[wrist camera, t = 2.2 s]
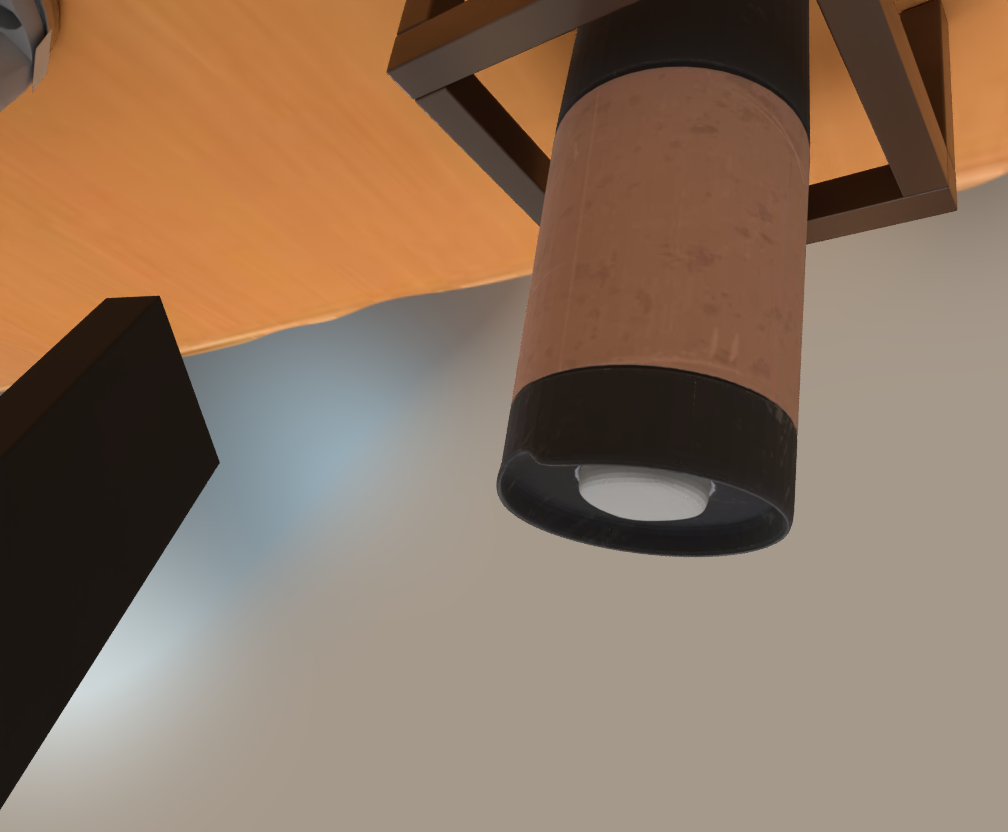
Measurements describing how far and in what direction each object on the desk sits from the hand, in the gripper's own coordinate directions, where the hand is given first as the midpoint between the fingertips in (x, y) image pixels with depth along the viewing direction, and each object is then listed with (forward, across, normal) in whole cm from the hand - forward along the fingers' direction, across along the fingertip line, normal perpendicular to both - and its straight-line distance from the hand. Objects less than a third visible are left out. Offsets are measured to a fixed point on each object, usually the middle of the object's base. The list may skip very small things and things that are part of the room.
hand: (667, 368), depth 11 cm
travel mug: (+25, +2, +2) cm, 25 cm away
